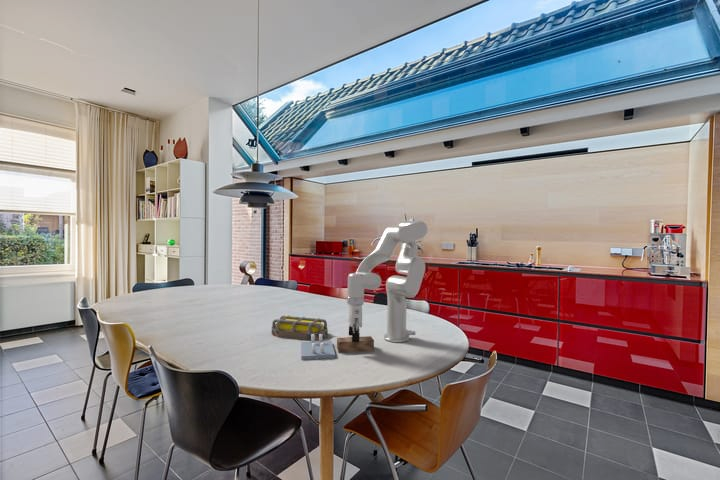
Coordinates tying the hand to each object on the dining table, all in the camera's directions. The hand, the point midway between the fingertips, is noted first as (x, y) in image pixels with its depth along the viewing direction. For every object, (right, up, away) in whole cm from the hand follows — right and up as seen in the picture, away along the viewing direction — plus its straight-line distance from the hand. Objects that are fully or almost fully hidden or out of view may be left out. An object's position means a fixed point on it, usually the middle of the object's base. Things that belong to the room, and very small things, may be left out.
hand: (353, 338), depth 148 cm
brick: (+1, -5, +1) cm, 5 cm away
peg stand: (-16, -5, -2) cm, 17 cm away
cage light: (-29, -5, +22) cm, 36 cm away
